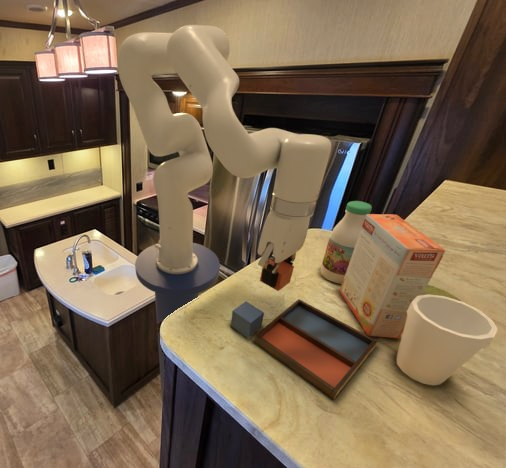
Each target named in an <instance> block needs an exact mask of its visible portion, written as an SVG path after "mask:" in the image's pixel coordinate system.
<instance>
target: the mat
mask: <svg viewBox="0 0 506 468" xmlns="http://www.w3.org/2000/svg"><path fill="white" fill-rule="evenodd" d="M427 294H430V295H438V296H445V297H448V298H452V299H455V300H458V301H461V299H460V298H459V297H457V296H456V295H453V294H452V293H450V292H448V291H446V290H444V289H442V288H439V287H436V286H434V285H430V284H428V285H427V287H426V289H425V291H424V293H423V295H427Z"/></svg>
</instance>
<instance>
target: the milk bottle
mask: <svg viewBox="0 0 506 468" xmlns="http://www.w3.org/2000/svg"><path fill="white" fill-rule="evenodd" d="M372 208H373V207H372V204H370V203H367V202H366V201H365V202H364V201H361V200H351V201H348V203H347V204H346V207H345V211H344V212H345V214H344V215H343V217H342V219H341V220H340V221H339V222H337V224H336V225H335V226H334V227H333V229H332V231H331V233H330V236H329V238H328V242H327V245H326V249H325V252H324V254H323V259H322V262H321V266H320V274H321V275H322V276H323V278H325V279H326V280H328V281H330V282H333V283H335V284H341V285H342V283H343V280H344V277H345V274H346V271H347V269H348V266H349V263H350V260H351V257H352V254H353V251H354V248H355V246H356V243H357V240H358V237H359V234H360V231H361V228H362V225H363V222H364V220H365V217H366V214H371V212H372V210H373V209H372Z"/></svg>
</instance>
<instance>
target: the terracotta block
mask: <svg viewBox="0 0 506 468" xmlns="http://www.w3.org/2000/svg"><path fill="white" fill-rule="evenodd" d="M269 263H270V264H272V265H273V266H274V264H275V262H274V261H272V260H270V261H269ZM294 268H295V266H294V264H293V265H290V264H288V263H286V262H284V261H282V262H280V265H279V268H278V271H277V272H279V275H278V279H277V283H276V287H274V288H272V289H273V290H276V291H277V292H279V291H281V290H282V289H283V288H284V287H286V286H287V285H289V284H290V283H291V281H292V276H293V273H294ZM262 273H263V268H262V267H261V273H260V276H259V277H260V278H259V282H261V283H263V282H262V281H261V278H262ZM263 284H264V285H266V286H268V287H270V286H269V285H267V284H265V283H263Z"/></svg>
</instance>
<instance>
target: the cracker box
mask: <svg viewBox="0 0 506 468" xmlns="http://www.w3.org/2000/svg"><path fill="white" fill-rule="evenodd" d="M446 251H447V250H446V249H445V248H443V247H442V246H441V245H440V244H438V243H436V242H435V241H434V240H432V239H431V238H429V236H427V235H425V234H424V233H423V232H421V231H420V230H418V229H417V228H416V227H414V226H413V225H411V224H410V223H409V222H407V221H406V220H405V219H403V218H402V217H400V216H399V215H398V214H393V213H390V214H389V213H385V214H384V213H381V214H377V213H370V214H366V217H365V220H364V222H363V225H362V228H361V231H360V234H359V237H358V240H357V243H356V246H355V248H354V251H353V254H352V257H351V260H350V263H349V266H348V269H347V271H346V274H345V277H344V280H343V283H342V284H341V285H340V289H339V293H340V294H341V296H342V297H343V299H344V301H345V302H346V303H347V306H348V307H349V308H350V310H351V311H352V313H353V315H354V317H355V318H356V320H357V321H358V323H359V324H360V325H361V327H362V329H363V331H364V332H365V333H366V335H367V336H369V337H377V338H387V339H388V338H389V339H397V340H398V339H401V337H402V334H403V330H404V326H405V323H406V319H407V310H408V308H409V306H410V304H411V302H412V301H413V300H414V299H415V298H416V297H417V296H421V295H423V293H424V291H425V289H426V287H427V285H429V284H430V281H431V279H432V278H433V276H434V274H435V272H436V271H437V268H438V266H439V265H440V263H441V261H442V259H443V258H444V255H445V253H446Z"/></svg>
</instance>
